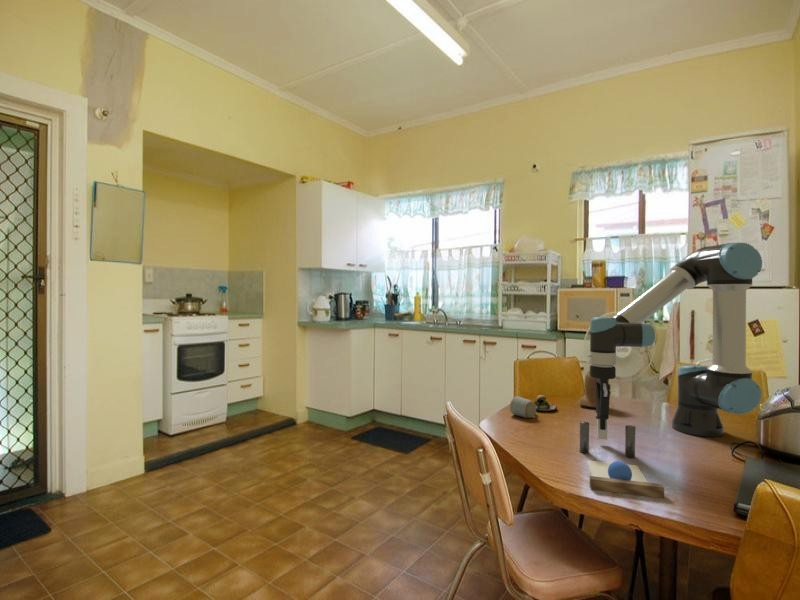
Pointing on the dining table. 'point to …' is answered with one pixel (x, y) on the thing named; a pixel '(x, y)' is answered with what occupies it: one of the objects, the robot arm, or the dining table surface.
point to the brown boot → (589, 391)
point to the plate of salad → (543, 404)
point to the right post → (630, 441)
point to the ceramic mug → (523, 407)
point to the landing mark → (602, 470)
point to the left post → (584, 437)
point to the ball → (619, 471)
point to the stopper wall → (627, 486)
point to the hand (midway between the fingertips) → (601, 438)
